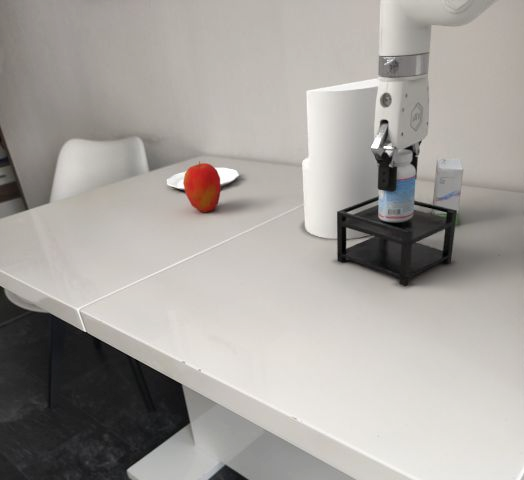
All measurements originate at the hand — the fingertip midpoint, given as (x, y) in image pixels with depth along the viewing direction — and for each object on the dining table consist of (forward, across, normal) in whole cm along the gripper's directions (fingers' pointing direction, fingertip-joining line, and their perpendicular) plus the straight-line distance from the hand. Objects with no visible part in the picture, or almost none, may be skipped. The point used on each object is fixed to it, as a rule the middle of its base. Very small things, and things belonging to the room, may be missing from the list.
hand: (397, 183), depth 92 cm
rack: (+14, 0, 0) cm, 14 cm away
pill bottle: (+6, 0, 0) cm, 6 cm away
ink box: (+15, +25, +2) cm, 29 cm away
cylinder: (+15, +12, +19) cm, 27 cm away
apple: (+15, +4, +55) cm, 57 cm away
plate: (+15, +21, +74) cm, 78 cm away
